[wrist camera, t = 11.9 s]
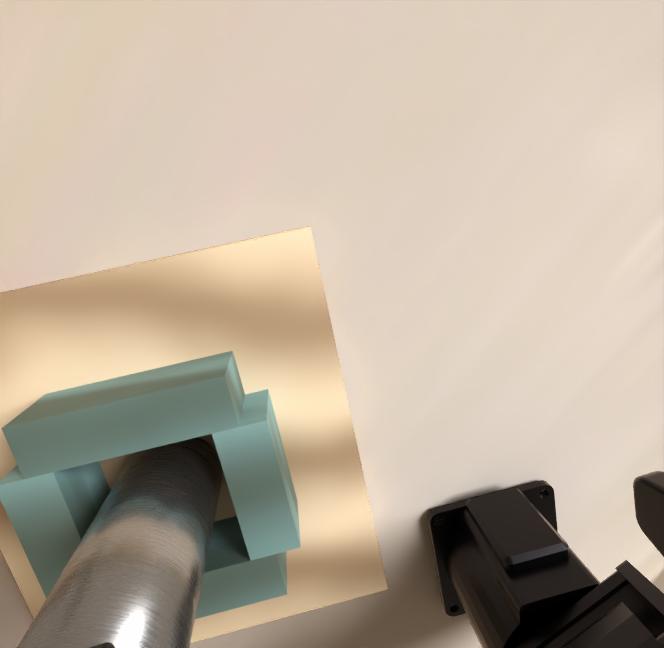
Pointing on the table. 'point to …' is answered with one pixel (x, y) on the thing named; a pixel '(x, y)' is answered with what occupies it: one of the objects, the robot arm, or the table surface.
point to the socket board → (269, 355)
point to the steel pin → (139, 556)
